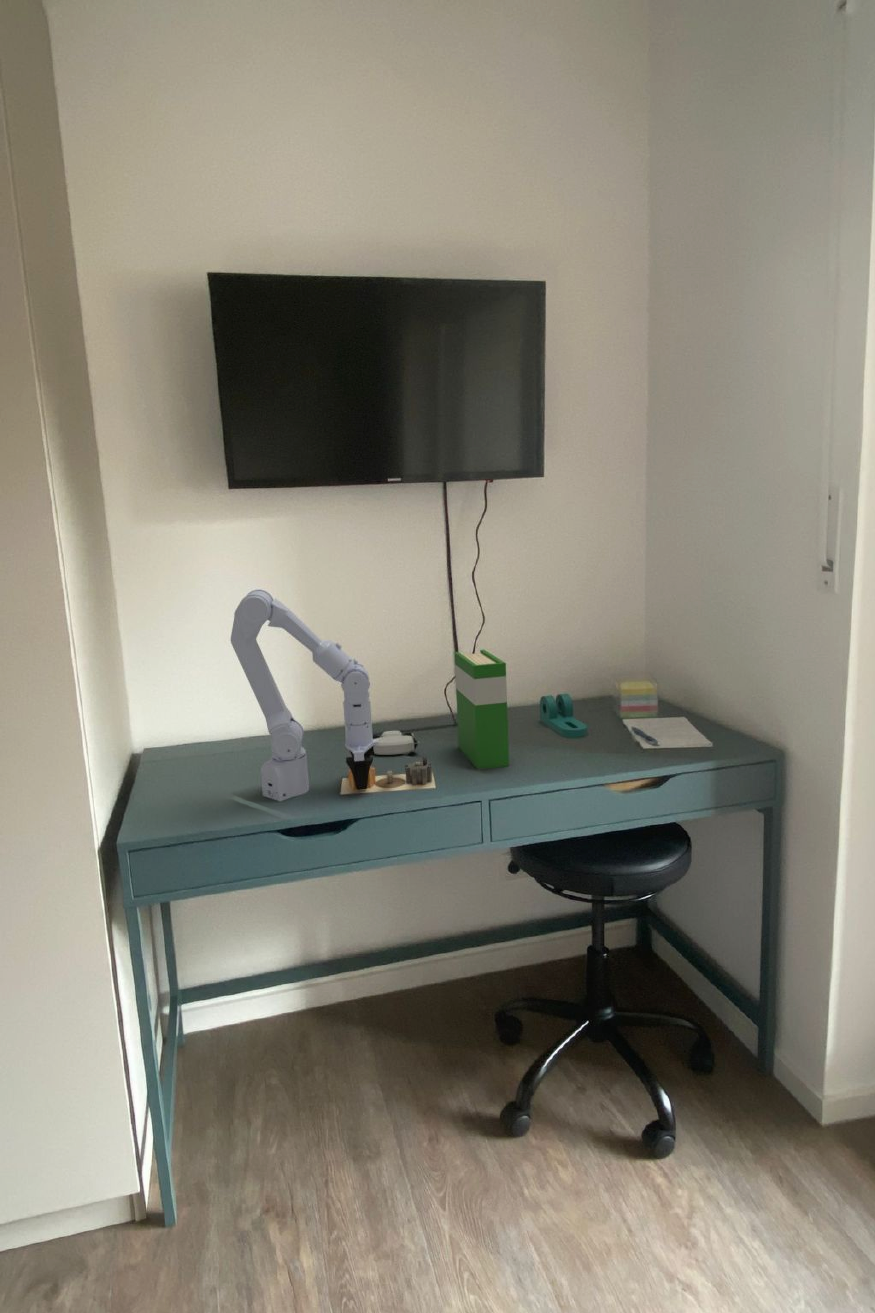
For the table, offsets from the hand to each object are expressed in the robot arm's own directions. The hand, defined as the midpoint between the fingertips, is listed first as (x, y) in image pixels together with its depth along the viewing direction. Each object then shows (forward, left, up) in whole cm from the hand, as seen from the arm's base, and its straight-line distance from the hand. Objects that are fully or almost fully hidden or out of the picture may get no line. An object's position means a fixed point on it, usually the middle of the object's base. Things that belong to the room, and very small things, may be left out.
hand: (362, 782), depth 176 cm
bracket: (+62, -12, -2) cm, 63 cm away
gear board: (+4, -4, -1) cm, 6 cm away
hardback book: (+32, -8, -2) cm, 33 cm away
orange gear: (0, 0, 0) cm, 0 cm away
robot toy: (+23, +13, -2) cm, 26 cm away
